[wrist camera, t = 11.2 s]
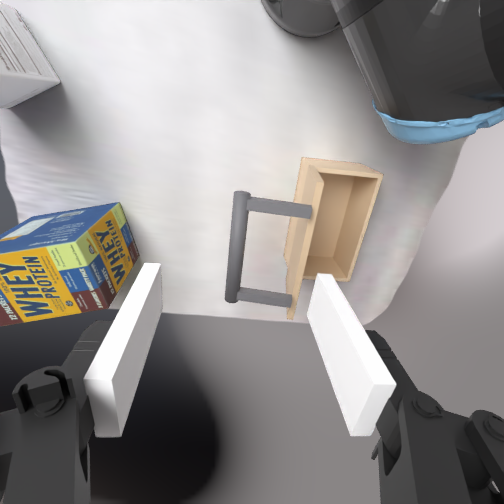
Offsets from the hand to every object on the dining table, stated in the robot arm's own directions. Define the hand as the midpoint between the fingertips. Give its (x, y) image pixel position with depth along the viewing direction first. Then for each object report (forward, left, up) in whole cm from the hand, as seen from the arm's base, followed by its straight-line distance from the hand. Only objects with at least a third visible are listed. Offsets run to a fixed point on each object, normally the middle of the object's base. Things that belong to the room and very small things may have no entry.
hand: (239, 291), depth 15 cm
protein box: (+15, -24, -36) cm, 45 cm away
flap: (+7, +10, -22) cm, 25 cm away
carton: (+7, +16, -35) cm, 39 cm away
